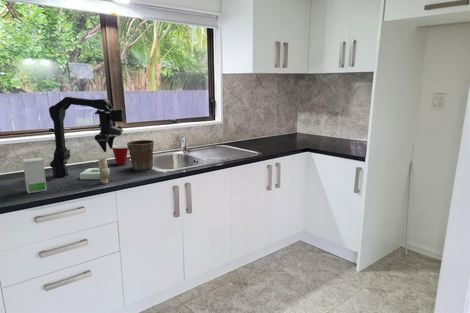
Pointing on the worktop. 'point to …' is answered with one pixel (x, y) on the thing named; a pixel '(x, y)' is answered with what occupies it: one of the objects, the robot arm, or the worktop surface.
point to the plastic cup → (120, 154)
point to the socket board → (91, 173)
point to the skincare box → (34, 175)
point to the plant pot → (141, 154)
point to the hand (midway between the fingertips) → (108, 150)
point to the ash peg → (103, 170)
